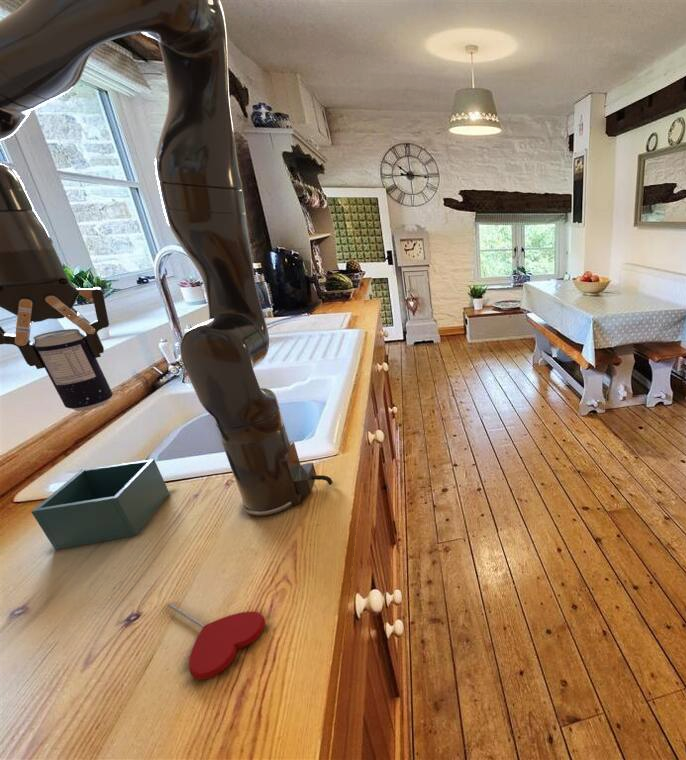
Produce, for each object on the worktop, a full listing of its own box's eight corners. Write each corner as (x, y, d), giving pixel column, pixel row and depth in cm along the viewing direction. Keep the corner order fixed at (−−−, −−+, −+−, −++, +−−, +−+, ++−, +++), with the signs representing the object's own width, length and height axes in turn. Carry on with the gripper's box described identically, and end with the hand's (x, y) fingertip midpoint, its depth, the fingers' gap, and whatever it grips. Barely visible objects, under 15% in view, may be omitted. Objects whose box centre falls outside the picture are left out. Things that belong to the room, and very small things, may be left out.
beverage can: (124, 397, 68) (92, 328, 63) (89, 413, 63) (51, 339, 58) (94, 397, 69) (60, 328, 64) (57, 412, 64) (17, 339, 59)
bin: (169, 493, 76) (154, 458, 73) (136, 535, 66) (116, 498, 63) (100, 504, 74) (81, 469, 71) (54, 549, 64) (30, 511, 61)
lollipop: (133, 634, 51) (207, 688, 44) (130, 629, 50) (204, 682, 44) (202, 582, 57) (274, 623, 51) (199, 578, 57) (272, 618, 51)
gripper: (-78, 254, 49) (-3, 382, 56) (85, 243, 58) (132, 355, 65) (-62, 251, 54) (4, 368, 61) (85, 241, 63) (129, 345, 70)
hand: (70, 361), depth 63 cm, fingers closed on beverage can, 5 cm apart
